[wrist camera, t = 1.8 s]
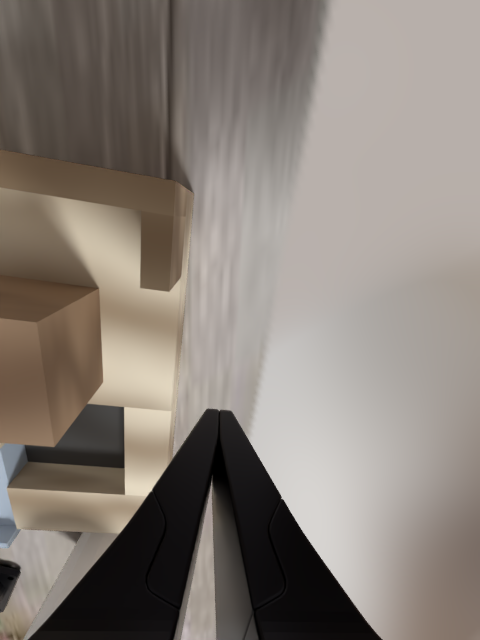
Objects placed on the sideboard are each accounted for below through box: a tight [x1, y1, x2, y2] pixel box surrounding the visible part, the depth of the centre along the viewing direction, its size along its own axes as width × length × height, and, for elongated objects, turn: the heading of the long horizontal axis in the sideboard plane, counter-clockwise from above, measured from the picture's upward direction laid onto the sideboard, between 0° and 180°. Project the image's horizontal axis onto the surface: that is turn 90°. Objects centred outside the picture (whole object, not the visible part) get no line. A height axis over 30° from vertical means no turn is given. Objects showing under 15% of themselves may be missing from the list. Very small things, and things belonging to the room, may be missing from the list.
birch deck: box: [0, 150, 194, 534], centre depth 13 cm, size 22×16×4 cm
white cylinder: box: [23, 532, 119, 640], centre depth 18 cm, size 7×7×7 cm
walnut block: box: [0, 275, 103, 447], centre depth 10 cm, size 5×5×4 cm
